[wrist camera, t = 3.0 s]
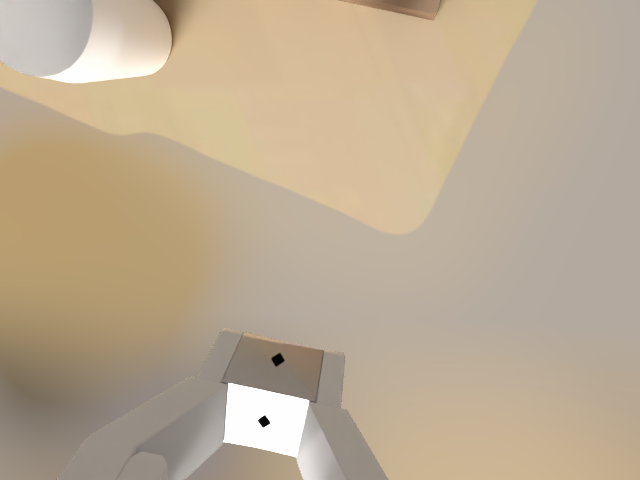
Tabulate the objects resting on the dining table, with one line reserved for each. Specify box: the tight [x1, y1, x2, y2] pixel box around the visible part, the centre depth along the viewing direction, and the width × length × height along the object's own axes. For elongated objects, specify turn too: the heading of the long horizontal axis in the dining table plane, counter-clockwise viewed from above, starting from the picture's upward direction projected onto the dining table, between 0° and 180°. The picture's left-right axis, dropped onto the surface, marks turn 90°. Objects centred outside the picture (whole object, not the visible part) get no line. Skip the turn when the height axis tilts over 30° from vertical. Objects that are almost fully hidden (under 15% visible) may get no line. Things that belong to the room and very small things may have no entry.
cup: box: [0, 0, 172, 83], centre depth 30 cm, size 9×9×12 cm
